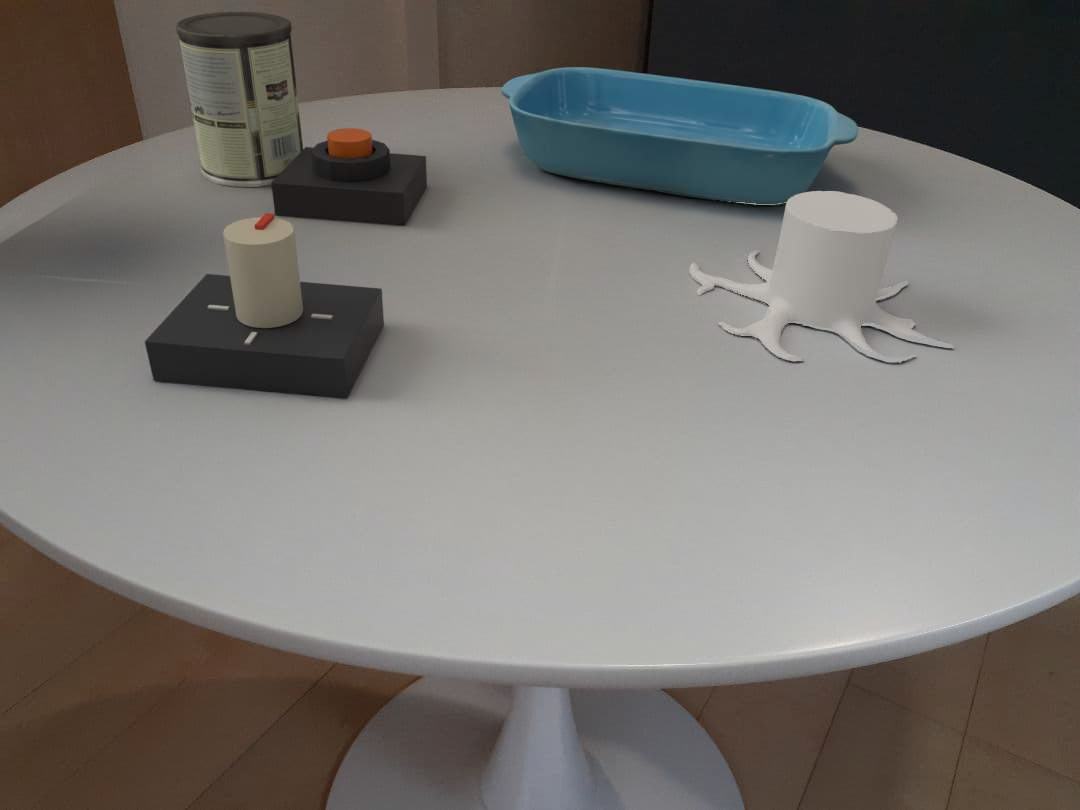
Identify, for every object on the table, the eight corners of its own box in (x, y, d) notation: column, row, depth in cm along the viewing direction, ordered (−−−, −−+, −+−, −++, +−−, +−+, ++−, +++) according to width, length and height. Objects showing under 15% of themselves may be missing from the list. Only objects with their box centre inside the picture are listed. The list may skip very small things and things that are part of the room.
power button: (323, 159, 83) (321, 140, 82) (335, 145, 87) (334, 126, 86) (366, 162, 83) (365, 143, 82) (377, 148, 87) (376, 129, 86)
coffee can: (226, 149, 98) (205, 7, 90) (320, 158, 97) (307, 15, 89) (181, 183, 90) (154, 29, 82) (283, 192, 88) (265, 38, 81)
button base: (274, 216, 84) (268, 162, 81) (308, 178, 92) (303, 128, 89) (404, 226, 83) (402, 173, 80) (427, 187, 91) (425, 137, 89)
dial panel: (153, 380, 61) (143, 339, 59) (213, 309, 69) (206, 271, 67) (347, 398, 60) (343, 356, 58) (384, 324, 68) (381, 286, 66)
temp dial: (290, 331, 61) (279, 242, 57) (226, 325, 61) (210, 236, 57) (311, 300, 64) (302, 215, 61) (250, 295, 65) (238, 210, 61)
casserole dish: (844, 157, 104) (859, 93, 100) (842, 231, 86) (860, 157, 82) (532, 118, 112) (535, 56, 108) (471, 178, 94) (471, 107, 90)
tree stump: (921, 267, 80) (947, 178, 76) (968, 384, 64) (1006, 279, 60) (691, 243, 83) (704, 154, 78) (682, 349, 67) (697, 246, 62)
